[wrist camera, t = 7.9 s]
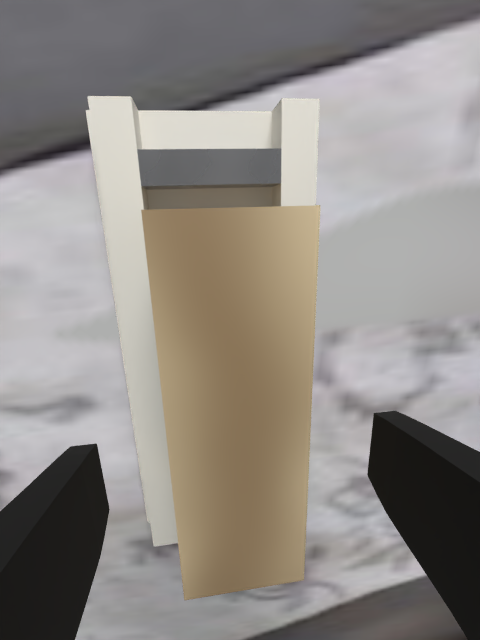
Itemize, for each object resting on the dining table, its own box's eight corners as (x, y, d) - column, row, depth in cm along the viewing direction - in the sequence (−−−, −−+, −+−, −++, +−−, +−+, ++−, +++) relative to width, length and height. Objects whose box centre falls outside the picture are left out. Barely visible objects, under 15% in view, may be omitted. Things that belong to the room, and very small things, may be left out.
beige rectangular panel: (260, 211, 14) (320, 205, 8) (262, 445, 18) (303, 580, 11) (162, 213, 14) (134, 210, 7) (185, 453, 17) (180, 600, 11)
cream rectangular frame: (296, 481, 21) (313, 522, 18) (150, 500, 20) (143, 548, 17) (305, 122, 15) (332, 99, 12) (96, 121, 14) (71, 95, 11)
